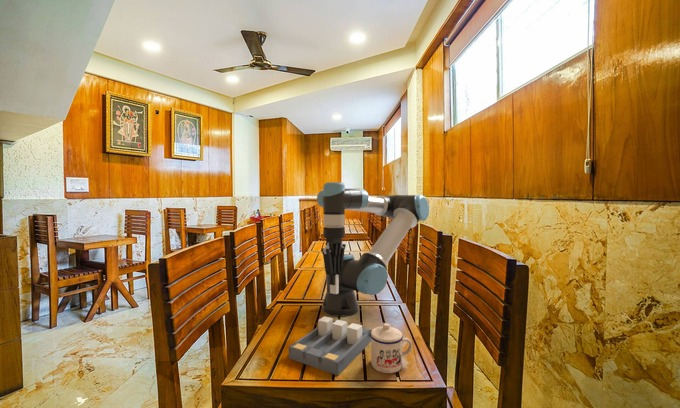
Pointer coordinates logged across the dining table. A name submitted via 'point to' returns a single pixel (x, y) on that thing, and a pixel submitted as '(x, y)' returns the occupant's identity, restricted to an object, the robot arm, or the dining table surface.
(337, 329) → the tab
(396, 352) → the teacup with lid
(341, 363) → the switch bank
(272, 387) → the dining table surface
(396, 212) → the robot arm
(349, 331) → the tab
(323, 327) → the tab
